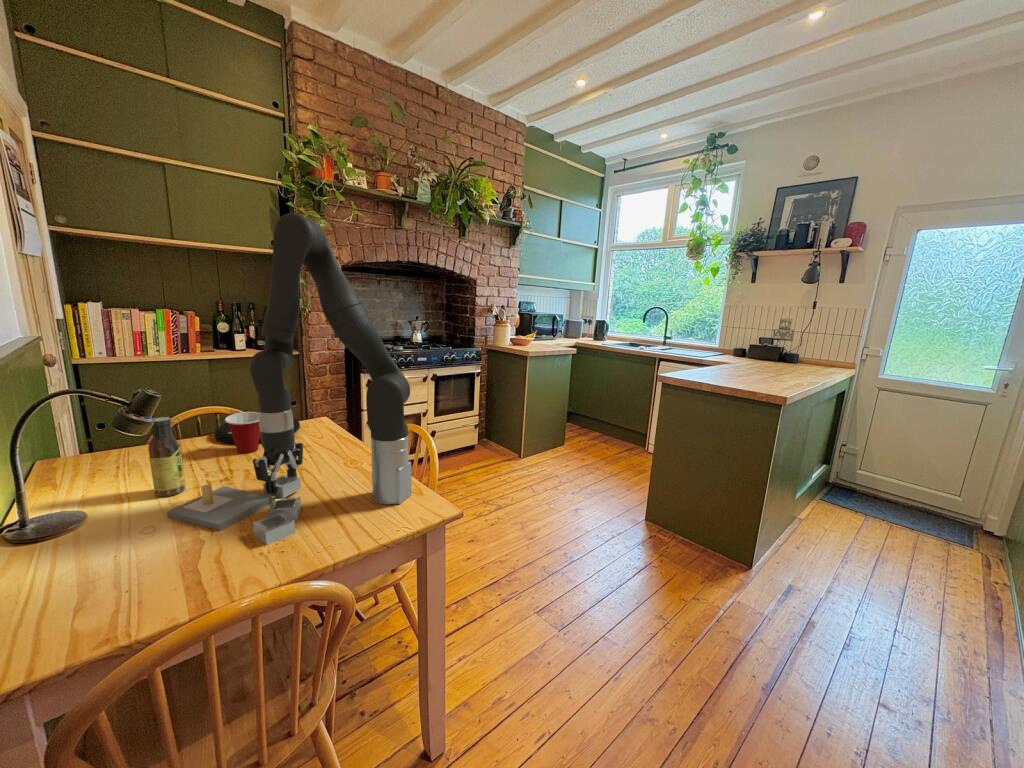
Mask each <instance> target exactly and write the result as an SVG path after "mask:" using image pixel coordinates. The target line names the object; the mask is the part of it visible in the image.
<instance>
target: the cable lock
mask: <svg viewBox="0 0 1024 768" xmlns="http://www.w3.org/2000/svg"><path fill="white" fill-rule="evenodd" d="M293 424H294V434H296V433H297V432H298V431H299V430H300V427H301V424H300V422H299V420H298V419H297V418H294V417H293ZM295 432H296V433H295ZM213 435H214V438H215V439H216V440H217V441H218V442H222V443H224V444H231V445H235V443H234V440H233V437H232V434H231V430H230V428H229V426H228V423H227V422H224V423H223V424H220V425H219V426H218V427H217V428H216V429H215V430H214V432H213ZM259 444H261V436H260V439H259Z"/></svg>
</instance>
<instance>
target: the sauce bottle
mask: <svg viewBox="0 0 1024 768" xmlns="http://www.w3.org/2000/svg"><path fill="white" fill-rule="evenodd" d="M154 419H155V423H154V425H153V426H152V427H151V431H152V435H151V436H152V440H151V441H150V442H149V445H148V451H149V453H148V454H149V464H150V469H151V476H152V483H153V489H154V490H155V495H156V496H158V497H165V498H166V497H171V496H175V495H178V494H180V493H182V492H184V490H185V489H186V479H185V470H184V465H183V464H184V463H183V457H182V456H183V455H182V450H181V449H182V448H181V445H180V443H179V442H178V440H177V439H176V437H175V435H174V434H173V431H172V425H171V424H172V421H171V418H170V417H169V416H168V417H166V416H163V417H161V416H160V417H155V418H154Z"/></svg>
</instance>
